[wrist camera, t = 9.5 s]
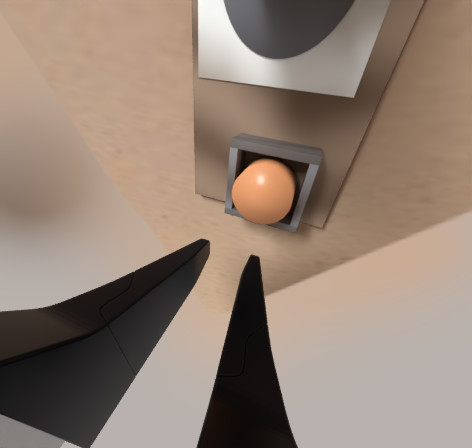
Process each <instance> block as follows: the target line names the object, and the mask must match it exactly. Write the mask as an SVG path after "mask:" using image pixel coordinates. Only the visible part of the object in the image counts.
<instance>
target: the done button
mask: <svg viewBox="0 0 472 448" xmlns="http://www.w3.org/2000/svg"><path fill="white" fill-rule="evenodd" d="M296 183H297V181H296V175H295V172H294V170H293V169H292V167H291V166H290V165H289V164H288V163H287V162H286V161H285V160H283V159H281V158H279V157H275V156H263V157H260V158H258V159H256V160H254V161H253V162H252V163H251V164H250V165H249V166H248V167H247V168H246V169H245V170H244V171H243V172H242V173H241V174H240V175H239V177H238V178H237V179H236V180H235V182H234V185H233V188H232V199H233V203H234V205H235V207H236V209H237V210H238V212H239V213H240V214H241V215H242V216H243V217H245V218H246V219H248V220H250V221H252V222H254V223H258V224H271V223H275V222H277V221H279V220H281V219H282V218H284V217H285V216H286V215H287V213H288V212H289V210H290V208H291V205H292V201H293V197H294V193H295V189H296Z"/></svg>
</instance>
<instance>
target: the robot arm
mask: <svg viewBox="0 0 472 448" xmlns="http://www.w3.org/2000/svg"><path fill="white" fill-rule="evenodd" d="M209 254H210V241H209V240H206V239H199V240H197V241H195V242H193V243H191V244H189V245H187V246H185V247H183V248H181V249H179V250H177V251H175V252H173V253H171V254H169V255H167V256H165V257H162V258H161V259H159V260H157V261H154V262H152V263H150V264H148V265H146V266H144V267H142V268H140V269H138V270H136V271H135V272H132V273H130V274H127V275H126V276H123V277H121V278H119V279H117V280H115V281H113V282H110V283H108V284H106V285H103V286H101V287H98V288H96V289H94V290H91V291H89V292H86V293H83V294H81V295H78V296H76V297H73V298H71V299H68V300H66V301H63V302H61V303H58V304H55V305H52V306H48V307H44V308H38V309H29V310H15V311H2V312H0V448H60V447H61V446H62V444H63V443H64V441H67V442H69V443H72V444H74V445H77V446H79V447H82V448H90V446H91V445H92V444H93V442H94V440H95V439H96V437H97V436H98V434H99V433H100V431H101V430H102V428H103V427H104V425H105V423H106V422H107V420H108V419H109V417H110V416H111V414H112V413H113V411H114V410H115V408H116V407H117V405H118V403H119V402H120V400H121V399H122V397H123V396H124V394H125V393H126V391H127V389H128V388H129V386H130V385H131V383H132V382H133V380H134V379H135V376H136V375H137V374H138V372H139V371H140V369H141V368H142V366H143V364H144V363H145V361H146V360H147V358H148V357H149V355H150V354H151V352H152V350H153V349H154V347H155V346H156V344H157V343H158V341H159V340H160V338H161V337H162V335H163V333H164V332H165V330H166V329H167V327H168V326H169V324H170V322H171V321H172V320H173V318H174V316H175V315H176V313H177V312H178V310H179V309H180V307H181V306H182V304H183V302H184V301H185V299H186V298H187V296H188V295H189V293H190V291H191V290H192V288H193V287H194V285H195V284H196V282H197V280H198V278H199V276H200V274H201V272H202V270H203V268H204V265H205V263H206V261H207V259H208V257H209ZM197 448H298V447H297V445H296V442H295V439H294V437H293V434H292V431H291V428H290V425H289V421H288V417H287V414H286V410H285V406H284V402H283V398H282V394H281V390H280V386H279V381H278V378H277V373H276V369H275V365H274V360H273V356H272V351H271V345H270V338H269V332H268V325H267V315H266V307H265V299H264V291H263V282H262V274H261V266H260V258H259V257H258V256H255V255H250V257H249V259H248V261H247V263H246V265H245V268H244V270H243V272H242V275H241V278H240V282H239V286H238V290H237V294H236V298H235V302H234V306H233V310H232V314H231V318H230V323H229V327H228V331H227V335H226V339H225V343H224V347H223V351H222V355H221V359H220V363H219V367H218V371H217V375H216V379H215V383H214V387H213V391H212V395H211V398H210V402H209V406H208V409H207V413H206V416H205V420H204V423H203V427H202V430H201V434H200V437H199V441H198V444H197Z"/></svg>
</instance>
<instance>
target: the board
mask: <svg viewBox="0 0 472 448" xmlns="http://www.w3.org/2000/svg"><path fill="white" fill-rule="evenodd" d="M423 2H424V0H192V38H193V91H194V144H195V193H196V194H199V195H203V196H207V197H210V198H214V199H218V200H221V201H225V202H226V203H225V213H227V214H230V215H234V216H237V217H241V218H244V219H246V218H245V217H243V216H242V215H241V214H240V213H239V212H238V210H237V209H236V207H235V205H234V203H233V199H232V188H233V185H234V182H235V180H236V179H237V178H238V177H239V175H240V174H241V173H242V172H243V171H244V170H245V169H246V168H247V167H248V166H249V165H250V164H251V163H252V162H253V161H254V160H256V159H258V158H260V157H263V156H275V157H279V158H281V159H283V160H285V161H286V162H287V163H288V164H289V165H290V166H291V167H292V169H293V170H294V172H295V175H296V181H297V183H296V189H295V193H294V197H293V201H292V205H291V208H290V210H289V212H288V213H287V215H286V216H285V217H284V218H282V219H281V220H279V221H277V222H275V223H271V224H265V225H269V226H272V227H276V228H279V229H283V230H286V231H290V232H293V233H295V232H296V229H297V226H298V224H299V222H302V223H306V224H309V225H313V226H317V227H320V228H322V227H323V225H324V222H325V220H326V218H327V216H328V214H329V211H330V209H331V207H332V205H333V202H334V200H335V198H336V196H337V194H338V191H339V189H340V187H341V185H342V182H343V180H344V178H345V176H346V174H347V171H348V169H349V167H350V165H351V162H352V160H353V158H354V156H355V154H356V151H357V149H358V147H359V145H360V142H361V140H362V138H363V136H364V134H365V131H366V129H367V127H368V125H369V122H370V120H371V118H372V116H373V114H374V111H375V109H376V107H377V105H378V102H379V100H380V98H381V96H382V93H383V91H384V89H385V87H386V85H387V82H388V80H389V78H390V76H391V73H392V71H393V69H394V67H395V65H396V62H397V60H398V58H399V56H400V53H401V51H402V49H403V47H404V45H405V42H406V40H407V38H408V36H409V33H410V31H411V29H412V27H413V25H414V22H415V20H416V18H417V16H418V13H419V11H420V9H421V7H422V5H423Z"/></svg>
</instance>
